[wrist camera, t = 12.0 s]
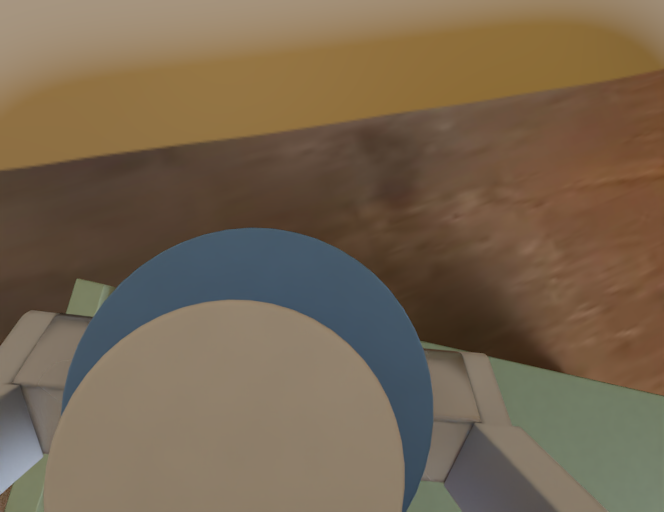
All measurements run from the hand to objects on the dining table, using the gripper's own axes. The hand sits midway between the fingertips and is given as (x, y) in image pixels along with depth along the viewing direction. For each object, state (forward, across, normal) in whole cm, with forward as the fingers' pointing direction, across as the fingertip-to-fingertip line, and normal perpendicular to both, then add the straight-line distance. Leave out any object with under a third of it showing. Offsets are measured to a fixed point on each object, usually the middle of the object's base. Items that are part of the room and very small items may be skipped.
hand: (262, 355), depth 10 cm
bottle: (+6, 0, +6) cm, 9 cm away
